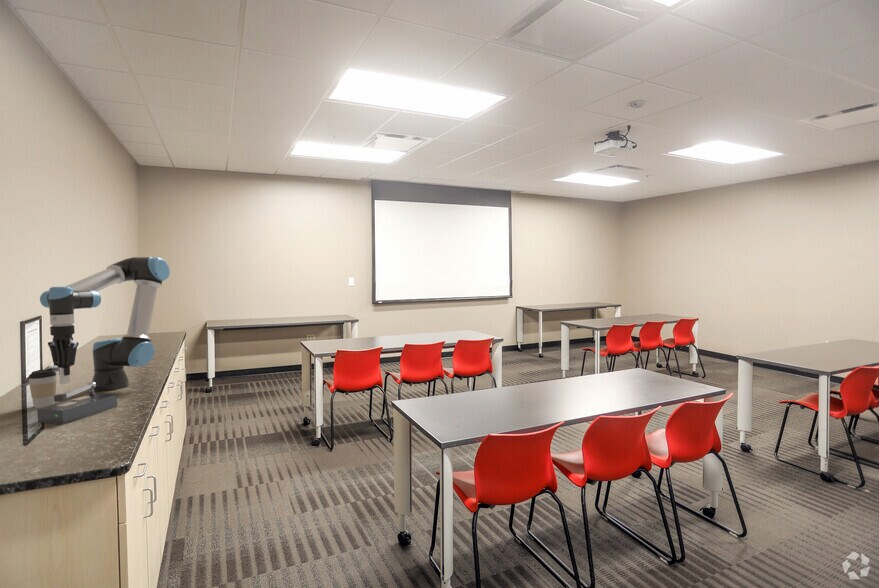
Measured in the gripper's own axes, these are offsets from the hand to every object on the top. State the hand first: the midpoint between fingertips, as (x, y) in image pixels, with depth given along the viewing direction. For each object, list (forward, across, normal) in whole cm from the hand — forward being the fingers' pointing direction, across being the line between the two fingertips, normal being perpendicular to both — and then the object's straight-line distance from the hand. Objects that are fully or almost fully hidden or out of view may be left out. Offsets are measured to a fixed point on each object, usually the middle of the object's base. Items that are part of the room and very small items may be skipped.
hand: (64, 383), depth 186 cm
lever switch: (+11, +10, -2) cm, 15 cm away
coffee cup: (+11, -16, +4) cm, 20 cm away
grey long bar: (+3, +9, -2) cm, 9 cm away
